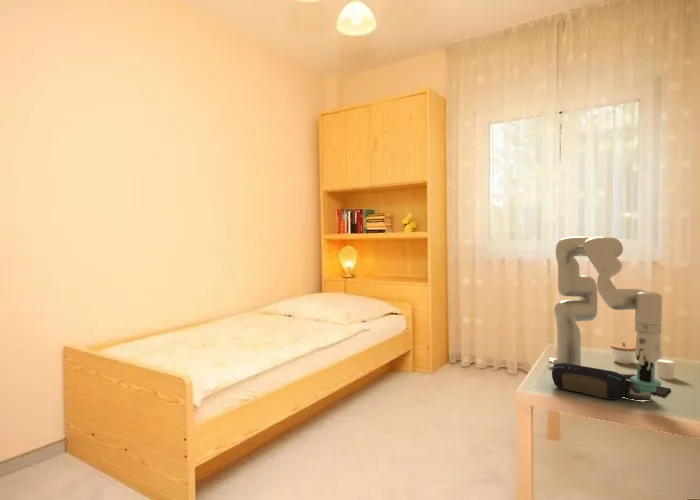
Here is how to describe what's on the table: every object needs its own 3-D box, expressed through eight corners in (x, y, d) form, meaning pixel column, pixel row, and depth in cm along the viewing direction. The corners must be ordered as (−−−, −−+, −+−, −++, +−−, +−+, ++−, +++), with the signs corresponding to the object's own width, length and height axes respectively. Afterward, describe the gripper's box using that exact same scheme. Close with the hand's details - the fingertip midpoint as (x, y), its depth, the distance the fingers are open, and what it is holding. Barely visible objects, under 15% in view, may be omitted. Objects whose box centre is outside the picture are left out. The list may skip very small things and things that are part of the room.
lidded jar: (629, 366, 198) (629, 346, 198) (605, 361, 207) (606, 341, 207) (641, 363, 203) (642, 343, 203) (618, 358, 213) (618, 339, 212)
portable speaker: (548, 389, 168) (548, 364, 168) (555, 382, 176) (555, 358, 176) (623, 405, 152) (623, 377, 151) (628, 397, 159) (628, 370, 159)
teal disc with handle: (626, 388, 151) (626, 365, 151) (636, 383, 156) (636, 360, 156) (655, 395, 144) (656, 371, 144) (664, 390, 149) (665, 366, 149)
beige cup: (678, 380, 179) (679, 363, 178) (660, 379, 180) (660, 362, 180) (670, 375, 185) (670, 359, 185) (652, 374, 187) (652, 358, 187)
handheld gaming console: (671, 394, 158) (651, 369, 163) (652, 403, 161) (633, 378, 166) (672, 390, 167) (653, 366, 172) (654, 398, 170) (636, 375, 175)
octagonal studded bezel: (612, 395, 161) (612, 377, 161) (624, 389, 167) (624, 371, 167) (644, 404, 153) (644, 384, 153) (655, 397, 159) (655, 378, 159)
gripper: (651, 332, 141) (650, 388, 142) (669, 326, 151) (667, 378, 152) (626, 329, 147) (625, 382, 148) (644, 323, 157) (643, 373, 158)
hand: (646, 379), depth 150 cm, fingers closed on teal disc with handle
